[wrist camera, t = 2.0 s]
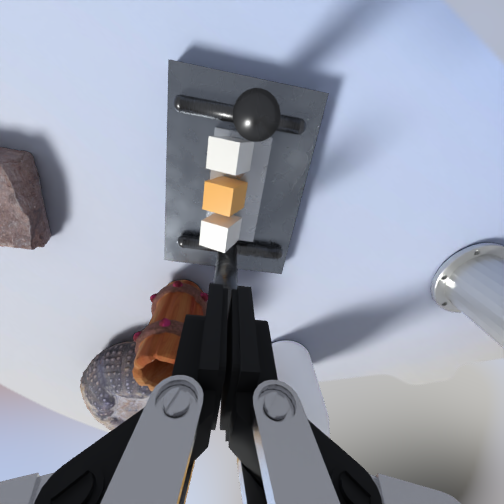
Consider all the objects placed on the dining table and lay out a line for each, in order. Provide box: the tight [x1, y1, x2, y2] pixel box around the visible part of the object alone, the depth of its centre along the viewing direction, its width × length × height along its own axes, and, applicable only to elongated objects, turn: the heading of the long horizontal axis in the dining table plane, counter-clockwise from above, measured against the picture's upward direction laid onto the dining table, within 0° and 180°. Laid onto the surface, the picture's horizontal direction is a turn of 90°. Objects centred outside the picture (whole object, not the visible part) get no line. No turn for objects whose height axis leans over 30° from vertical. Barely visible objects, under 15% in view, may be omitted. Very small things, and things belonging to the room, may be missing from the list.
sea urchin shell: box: [80, 341, 152, 431], centre depth 44 cm, size 19×19×10 cm
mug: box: [132, 280, 208, 391], centre depth 35 cm, size 15×8×15 cm, turn 179°
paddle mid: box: [202, 176, 248, 217], centre depth 27 cm, size 3×3×4 cm
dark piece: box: [164, 60, 329, 309], centre depth 25 cm, size 16×22×18 cm
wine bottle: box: [272, 340, 330, 438], centre depth 35 cm, size 10×10×30 cm
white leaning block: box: [199, 213, 242, 253], centre depth 29 cm, size 3×3×4 cm
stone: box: [0, 147, 51, 250], centre depth 30 cm, size 12×9×5 cm
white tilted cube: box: [206, 136, 254, 176], centre depth 25 cm, size 3×3×4 cm
